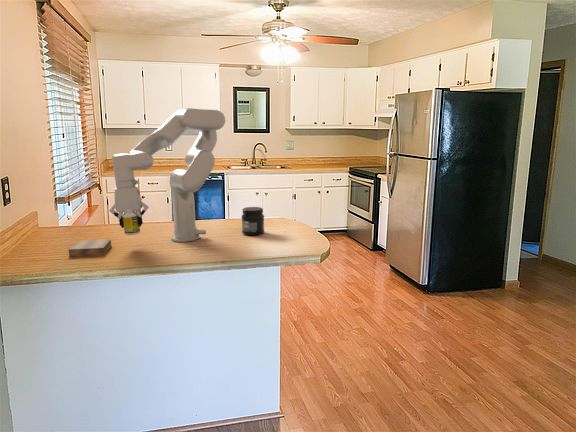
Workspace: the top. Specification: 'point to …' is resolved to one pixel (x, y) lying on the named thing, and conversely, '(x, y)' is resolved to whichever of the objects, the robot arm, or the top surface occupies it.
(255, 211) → the supplement container
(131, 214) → the pill bottle
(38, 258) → the top surface
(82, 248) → the walnut base
